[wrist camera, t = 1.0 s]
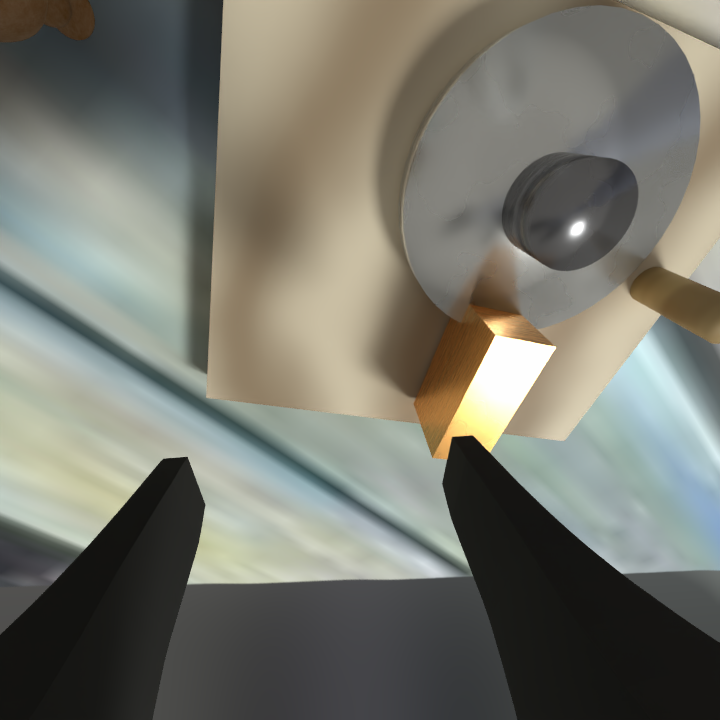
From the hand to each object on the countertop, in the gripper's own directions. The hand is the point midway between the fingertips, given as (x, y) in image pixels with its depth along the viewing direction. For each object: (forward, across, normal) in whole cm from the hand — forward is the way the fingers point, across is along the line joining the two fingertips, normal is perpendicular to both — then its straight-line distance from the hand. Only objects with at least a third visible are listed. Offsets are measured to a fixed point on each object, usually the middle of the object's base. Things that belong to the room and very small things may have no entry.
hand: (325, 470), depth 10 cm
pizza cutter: (+7, -7, -3) cm, 11 cm away
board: (+8, -6, -3) cm, 11 cm away
